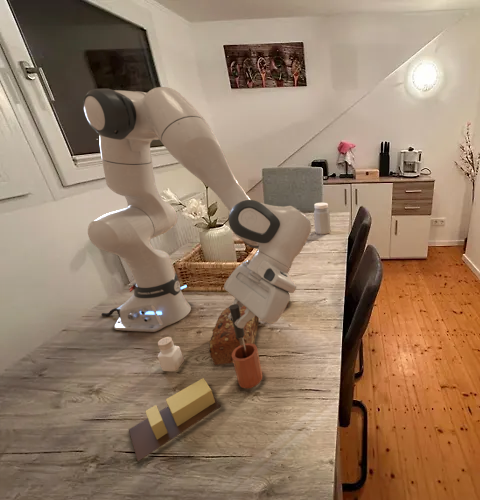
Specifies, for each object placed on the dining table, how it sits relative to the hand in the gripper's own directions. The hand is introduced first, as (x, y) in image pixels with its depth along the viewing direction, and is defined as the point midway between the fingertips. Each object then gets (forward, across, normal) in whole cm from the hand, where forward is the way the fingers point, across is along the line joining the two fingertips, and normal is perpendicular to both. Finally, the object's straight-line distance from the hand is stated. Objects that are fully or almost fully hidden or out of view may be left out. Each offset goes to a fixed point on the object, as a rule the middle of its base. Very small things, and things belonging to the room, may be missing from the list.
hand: (234, 323), depth 64 cm
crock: (+13, 0, +14) cm, 19 cm away
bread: (+10, -16, +17) cm, 25 cm away
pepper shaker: (+22, -19, +5) cm, 30 cm away
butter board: (+24, -2, +2) cm, 25 cm away
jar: (-48, -73, +75) cm, 115 cm away
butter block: (+21, -2, +4) cm, 22 cm away
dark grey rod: (+10, 0, +10) cm, 14 cm away
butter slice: (+26, -2, -1) cm, 26 cm away
